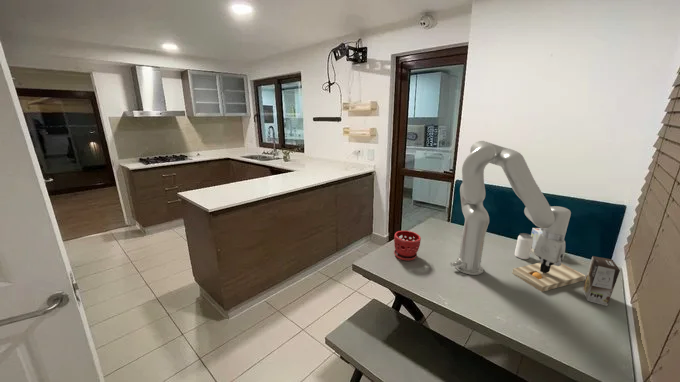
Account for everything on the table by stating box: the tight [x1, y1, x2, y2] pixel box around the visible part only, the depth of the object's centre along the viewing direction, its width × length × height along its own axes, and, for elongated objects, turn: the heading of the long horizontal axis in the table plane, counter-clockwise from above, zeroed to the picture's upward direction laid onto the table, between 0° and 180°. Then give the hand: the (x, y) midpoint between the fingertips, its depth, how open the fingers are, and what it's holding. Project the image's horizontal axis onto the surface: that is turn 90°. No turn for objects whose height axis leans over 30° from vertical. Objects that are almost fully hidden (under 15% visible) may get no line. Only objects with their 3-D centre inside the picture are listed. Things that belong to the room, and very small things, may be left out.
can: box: [514, 232, 533, 260], centre depth 138 cm, size 6×6×12 cm
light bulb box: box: [530, 227, 543, 250], centre depth 145 cm, size 11×7×11 cm, turn 178°
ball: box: [532, 272, 542, 279], centre depth 120 cm, size 4×4×4 cm
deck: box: [511, 262, 587, 293], centre depth 122 cm, size 26×14×2 cm, turn 108°
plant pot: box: [393, 230, 422, 262], centre depth 139 cm, size 13×13×12 cm
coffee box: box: [582, 255, 621, 307], centre depth 107 cm, size 9×6×16 cm
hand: (544, 271), depth 121 cm, fingers closed
